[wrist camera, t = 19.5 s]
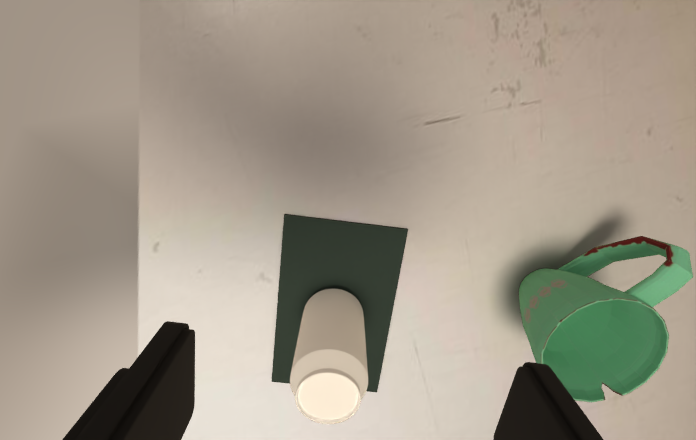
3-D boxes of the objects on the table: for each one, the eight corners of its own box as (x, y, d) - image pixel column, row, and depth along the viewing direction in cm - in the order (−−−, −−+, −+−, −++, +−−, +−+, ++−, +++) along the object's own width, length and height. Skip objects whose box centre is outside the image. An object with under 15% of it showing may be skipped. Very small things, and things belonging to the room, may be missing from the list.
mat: (284, 214, 36) (284, 214, 36) (407, 228, 37) (407, 229, 37) (272, 380, 43) (271, 381, 43) (376, 391, 43) (376, 392, 43)
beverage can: (373, 320, 40) (383, 412, 29) (322, 344, 41) (313, 441, 30) (345, 274, 38) (344, 352, 27) (293, 300, 39) (270, 386, 28)
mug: (542, 344, 41) (600, 420, 32) (474, 299, 39) (514, 365, 30) (648, 243, 37) (750, 295, 28) (578, 187, 35) (662, 223, 26)
